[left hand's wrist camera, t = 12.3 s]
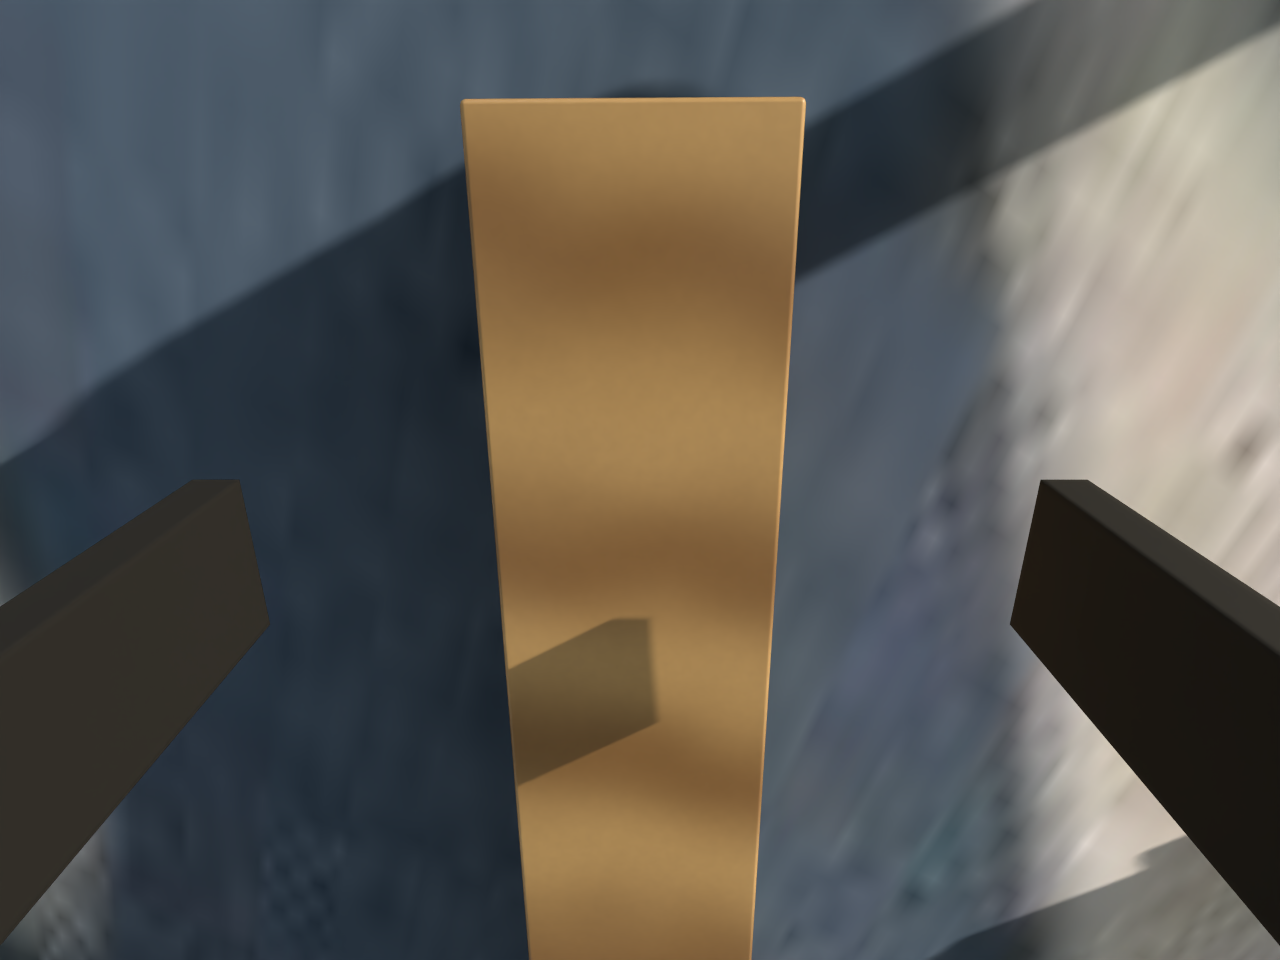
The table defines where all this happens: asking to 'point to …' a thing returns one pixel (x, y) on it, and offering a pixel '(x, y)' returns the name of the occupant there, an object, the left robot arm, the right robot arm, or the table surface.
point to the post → (636, 497)
